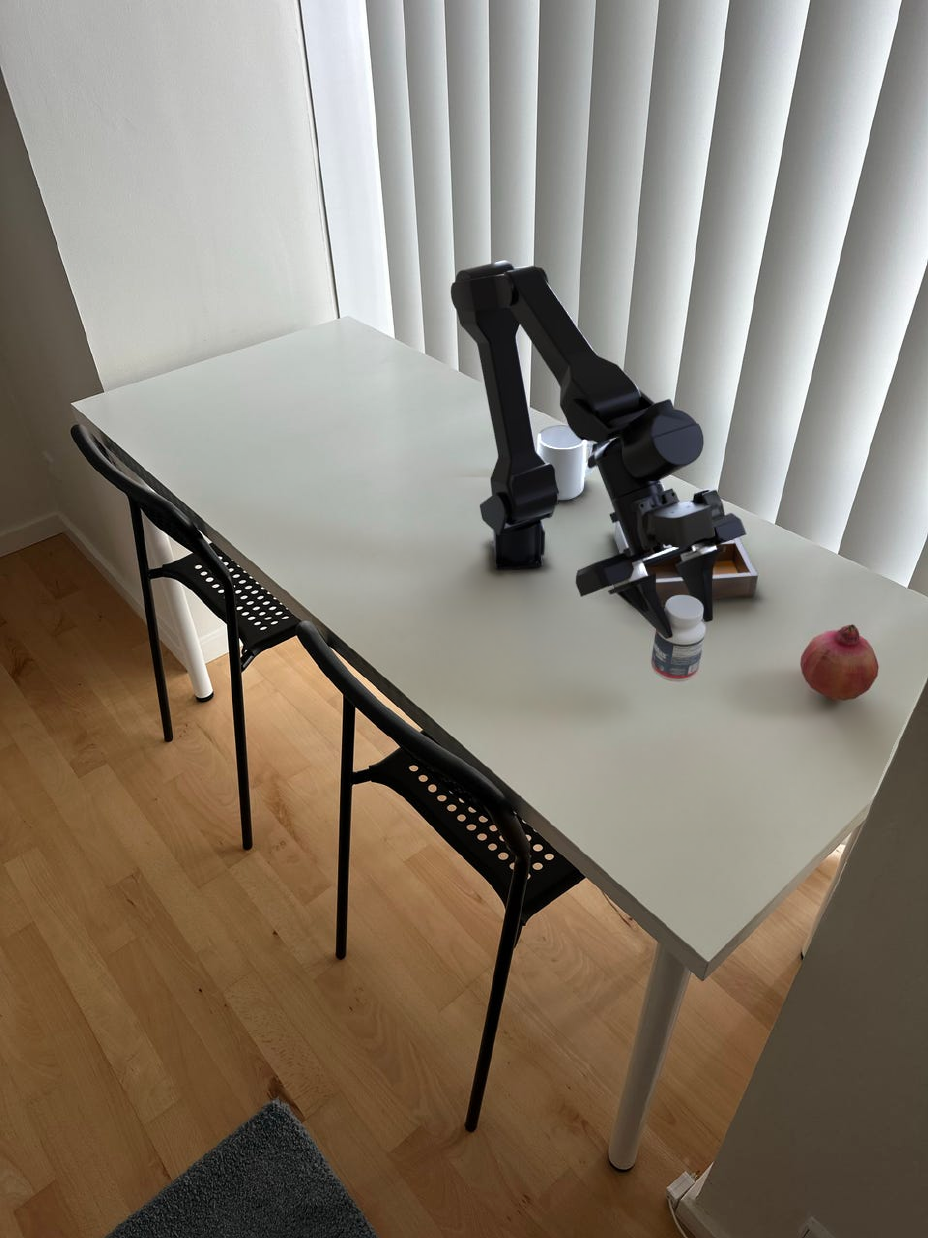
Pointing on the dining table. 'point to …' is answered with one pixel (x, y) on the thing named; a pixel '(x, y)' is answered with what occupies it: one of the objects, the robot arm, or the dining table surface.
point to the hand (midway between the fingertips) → (689, 629)
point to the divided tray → (729, 571)
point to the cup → (565, 458)
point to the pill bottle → (680, 640)
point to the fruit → (839, 664)
